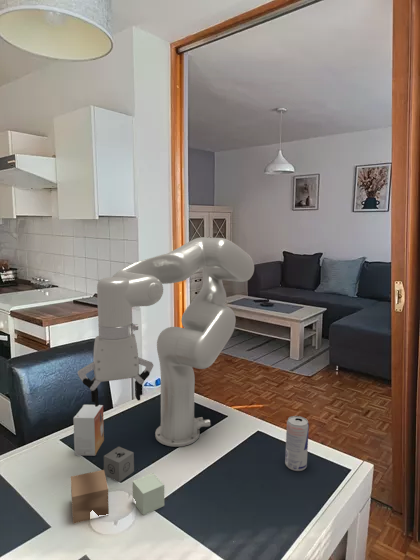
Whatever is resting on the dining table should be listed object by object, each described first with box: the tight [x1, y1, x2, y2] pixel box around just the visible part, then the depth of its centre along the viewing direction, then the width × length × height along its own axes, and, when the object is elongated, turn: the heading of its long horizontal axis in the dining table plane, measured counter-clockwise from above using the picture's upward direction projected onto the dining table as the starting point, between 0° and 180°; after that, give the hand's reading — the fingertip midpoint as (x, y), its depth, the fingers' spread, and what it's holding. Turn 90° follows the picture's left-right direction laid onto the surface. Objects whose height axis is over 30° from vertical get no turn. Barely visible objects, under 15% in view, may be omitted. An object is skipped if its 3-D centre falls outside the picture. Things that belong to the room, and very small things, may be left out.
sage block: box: [132, 472, 165, 516], centre depth 86 cm, size 5×5×5 cm
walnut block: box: [70, 469, 110, 525], centre depth 85 cm, size 7×7×6 cm
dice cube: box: [103, 446, 135, 483], centre depth 97 cm, size 5×5×5 cm
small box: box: [72, 404, 105, 457], centre depth 107 cm, size 8×6×10 cm
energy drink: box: [284, 415, 310, 472], centre depth 100 cm, size 5×5×12 cm
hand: (117, 401), depth 95 cm, fingers open, 9 cm apart
